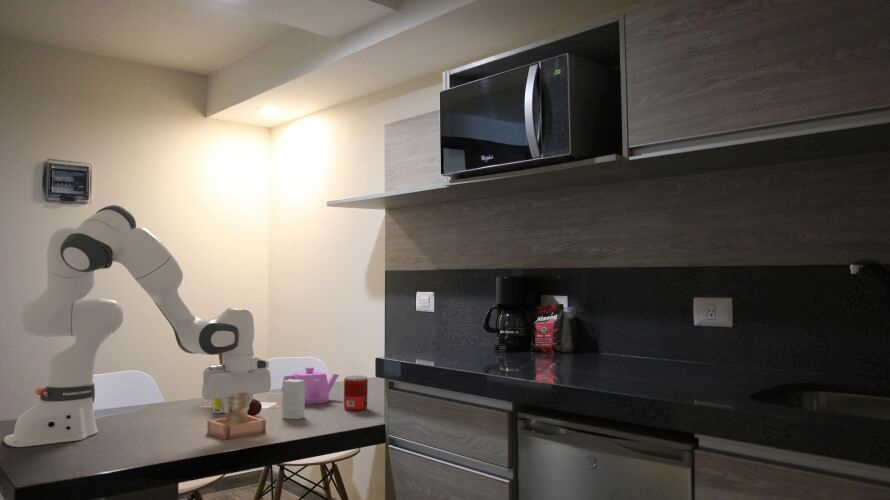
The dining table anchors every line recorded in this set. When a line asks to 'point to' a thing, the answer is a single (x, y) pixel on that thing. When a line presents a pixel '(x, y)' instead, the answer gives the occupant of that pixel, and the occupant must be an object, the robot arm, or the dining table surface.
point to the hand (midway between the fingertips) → (236, 411)
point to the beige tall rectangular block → (237, 409)
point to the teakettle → (314, 384)
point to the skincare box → (293, 399)
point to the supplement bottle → (218, 406)
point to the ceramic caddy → (236, 427)
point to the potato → (254, 407)
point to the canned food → (355, 393)
